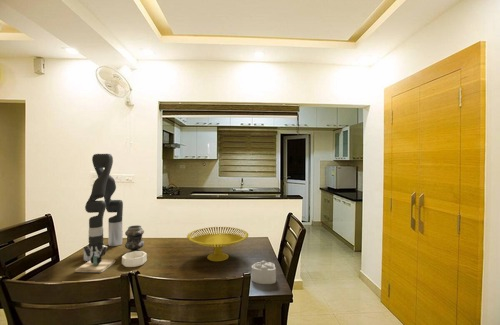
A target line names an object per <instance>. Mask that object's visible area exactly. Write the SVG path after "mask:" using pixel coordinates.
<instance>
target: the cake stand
mask: <svg viewBox="0 0 500 325" xmlns="http://www.w3.org/2000/svg"><path fill="white" fill-rule="evenodd" d="M186 238H187V240H188V241H190V242H191V243H195V244H196V245H200V246H203V247H208V248H213V253H210V254H208V256H207V260H209V261H212V262H223V261H225V260H228V259H229V255H228V254H227V253H224V252H223V248H224V247H229V246H233V245H236V244H238V243H240V242H243V241H244V240H247V238H249V233H248V232H247V231H245V230H244V229H241V228H238V227H231V226H210V227H209V226H208V227H204V228H203V227H202V228H199V229H195V230H193V231H191V232H189V233H188V234H187V235H186Z"/></svg>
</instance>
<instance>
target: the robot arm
mask: <svg viewBox="0 0 500 325" xmlns="http://www.w3.org/2000/svg"><path fill="white" fill-rule="evenodd" d="M91 157H92V160H91V161H92V165H93V169H94V170H95V173H96V175H97V178H96V179H95V180H94V182H93V184H92V187H91V188H92V189H91V193H90V195H89V198H88V200H87V201H86V203H85V206H84V208H85V209H84V210H85V212H86V213H88V214H93V213H95V214H97V213H98V214H97V215H94V216H90V217H89V219H88V245H86V246H83V251H84V250H85V252H86V254H87V256H90V257H91V263H93V256H94V255H95V252H96V253H97V256H98V258H97V263H98V264H99V263H100V262H101V261H102V260H103V259H102V258H103V256H105V255H106V253H107V250H108V248H109V247H118V246H121V245H122V244H123V240H124V239H123V235H124V234H123V216H124V215H123V211H124V209H123V208H124V202H123V200H121V199H111V198H112V196H113V195H114V194H115V191H116V189H117V185H116V184H117V183H116V179H114V177H113V176H112V175H111V170H112V168H113V163H114V160H113V159H114V158H113V156H112V154H111V153H95V154H94V153H93V155H92V156H91ZM102 198H103V200H101V199H102ZM99 199H100V200H99ZM105 211H106V212H107V213H109V214H112V213H116V214H115V215H113V216H111V217H109V218H108V220H107V222H108V223H107V224H108V226H107V227H108V230H107V231H108V232H107V233H108V238H107V239H108V242H107V243H108V245H104V223H103V222H104V221H103V220H104V214H105ZM89 248H90V249H91V251H90V249H89Z"/></svg>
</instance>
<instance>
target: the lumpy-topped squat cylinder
mask: <svg viewBox="0 0 500 325" xmlns="http://www.w3.org/2000/svg"><path fill="white" fill-rule="evenodd" d="M276 275H277V267H276V265H275V263H273V262H271V261H270V262H267V261H266V260H261V261H260V262H259V261H258V262H255V263H254V264H252V265H251V276H250V278H251V279H250V280H251V281H252V282H253V283H255V284H260V285H272V284H273V285H274V284H275V283H276V282H277V277H276Z"/></svg>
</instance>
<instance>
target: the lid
mask: <svg viewBox="0 0 500 325" xmlns="http://www.w3.org/2000/svg"><path fill="white" fill-rule="evenodd" d="M97 258H98V256H97V255H96V256H93V263H91V260H90V261H88V262H85V263H83V264H81V265H80V266H79V267H77V268H76V269H74V272H76V271H88V272H87V273H102V272H101V271H103V270H104V269H105V268H107V267H108V266H110V265H111V264H112V263H114V262H116V259H102V261H101V262H100V263H99V264H98V263H97ZM114 264H115V263H114ZM112 265H113V264H112ZM112 265H111V266H112ZM111 266H110V267H111ZM108 268H109V267H108ZM108 268H107V269H108ZM104 271H105V270H104ZM104 271H103V272H104Z"/></svg>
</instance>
